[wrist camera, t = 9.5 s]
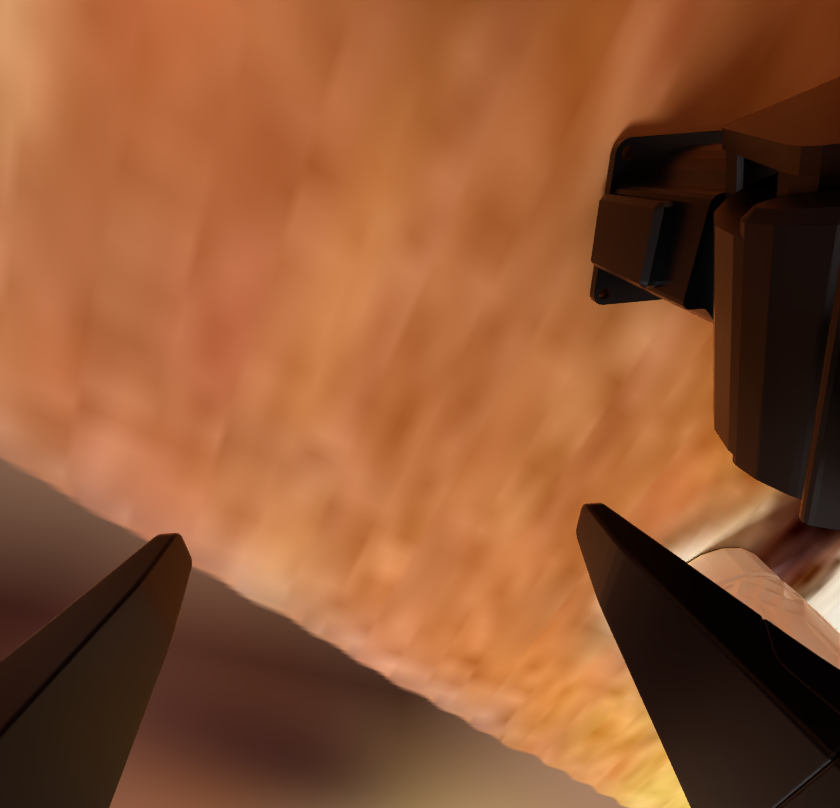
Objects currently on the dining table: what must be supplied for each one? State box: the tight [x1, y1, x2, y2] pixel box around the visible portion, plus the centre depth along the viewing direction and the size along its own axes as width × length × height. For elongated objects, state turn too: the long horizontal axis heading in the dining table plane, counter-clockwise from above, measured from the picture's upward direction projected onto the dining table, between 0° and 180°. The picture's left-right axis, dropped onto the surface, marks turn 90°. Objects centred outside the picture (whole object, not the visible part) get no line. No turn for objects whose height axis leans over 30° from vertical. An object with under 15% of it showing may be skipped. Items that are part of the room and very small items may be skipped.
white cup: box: [688, 548, 840, 669], centre depth 27 cm, size 8×8×10 cm
